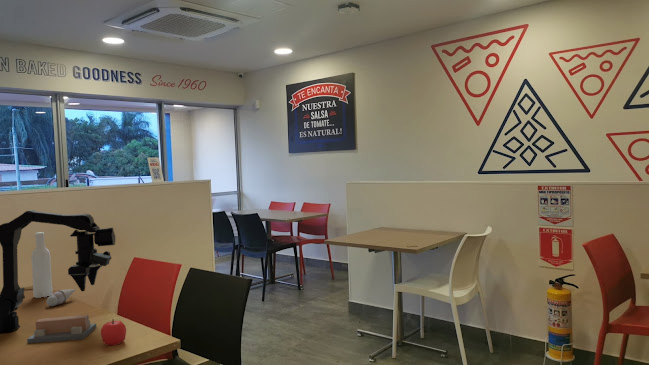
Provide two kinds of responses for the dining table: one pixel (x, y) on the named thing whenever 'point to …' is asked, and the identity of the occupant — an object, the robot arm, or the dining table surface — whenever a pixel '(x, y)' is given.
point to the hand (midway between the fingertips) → (88, 287)
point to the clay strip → (63, 323)
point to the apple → (113, 332)
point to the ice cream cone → (59, 297)
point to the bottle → (41, 268)
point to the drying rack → (60, 335)
